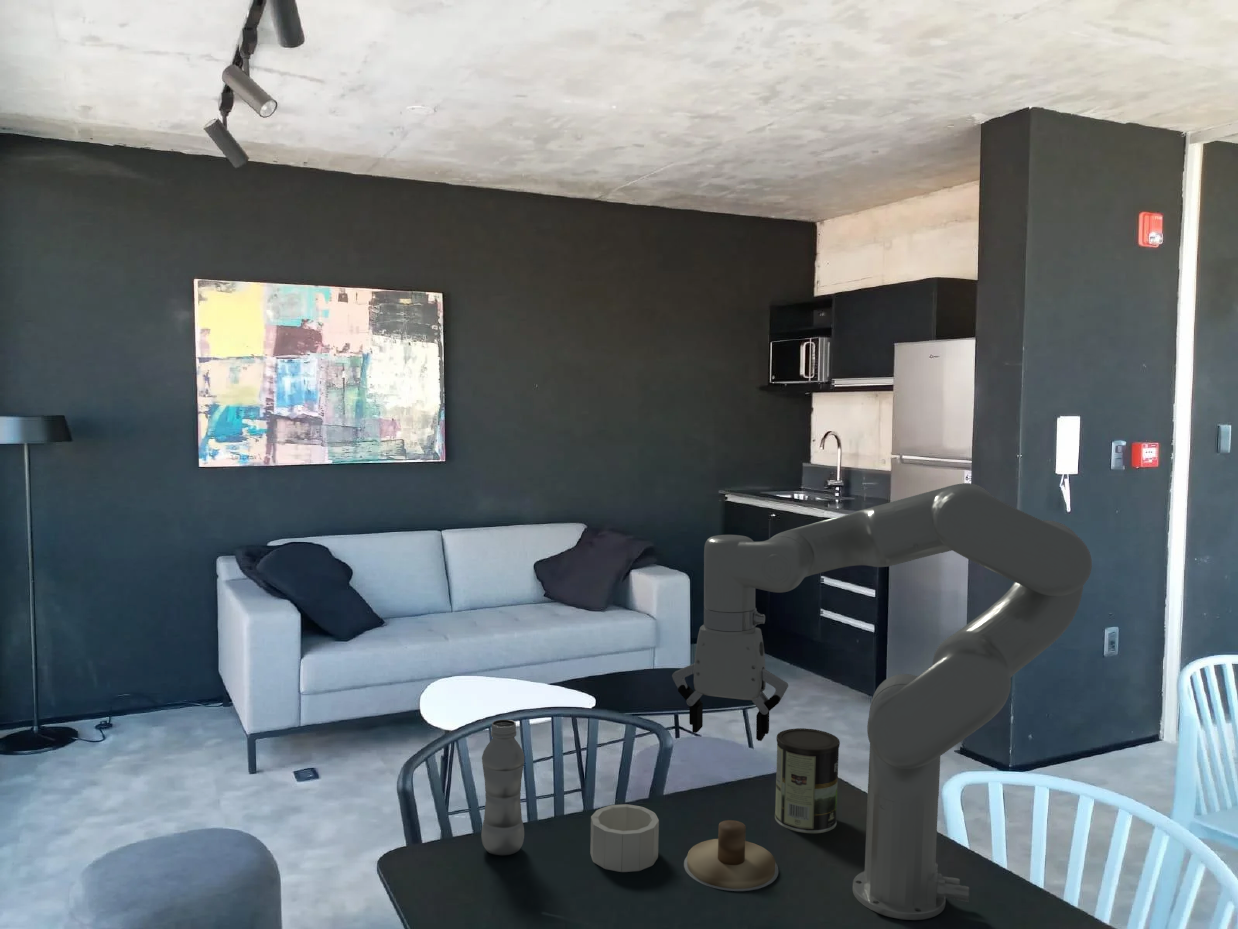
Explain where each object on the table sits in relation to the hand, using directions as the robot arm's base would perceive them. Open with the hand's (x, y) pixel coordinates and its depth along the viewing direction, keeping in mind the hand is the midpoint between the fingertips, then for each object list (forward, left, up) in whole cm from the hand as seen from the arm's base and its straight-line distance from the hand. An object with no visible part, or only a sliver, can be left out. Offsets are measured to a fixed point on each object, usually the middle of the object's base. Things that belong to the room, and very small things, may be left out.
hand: (728, 734), depth 142 cm
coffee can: (-9, -20, -21) cm, 30 cm away
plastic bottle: (+33, +8, -21) cm, 40 cm away
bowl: (+15, +3, -20) cm, 26 cm away
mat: (-1, 0, -20) cm, 20 cm away
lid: (-1, 0, -20) cm, 20 cm away
